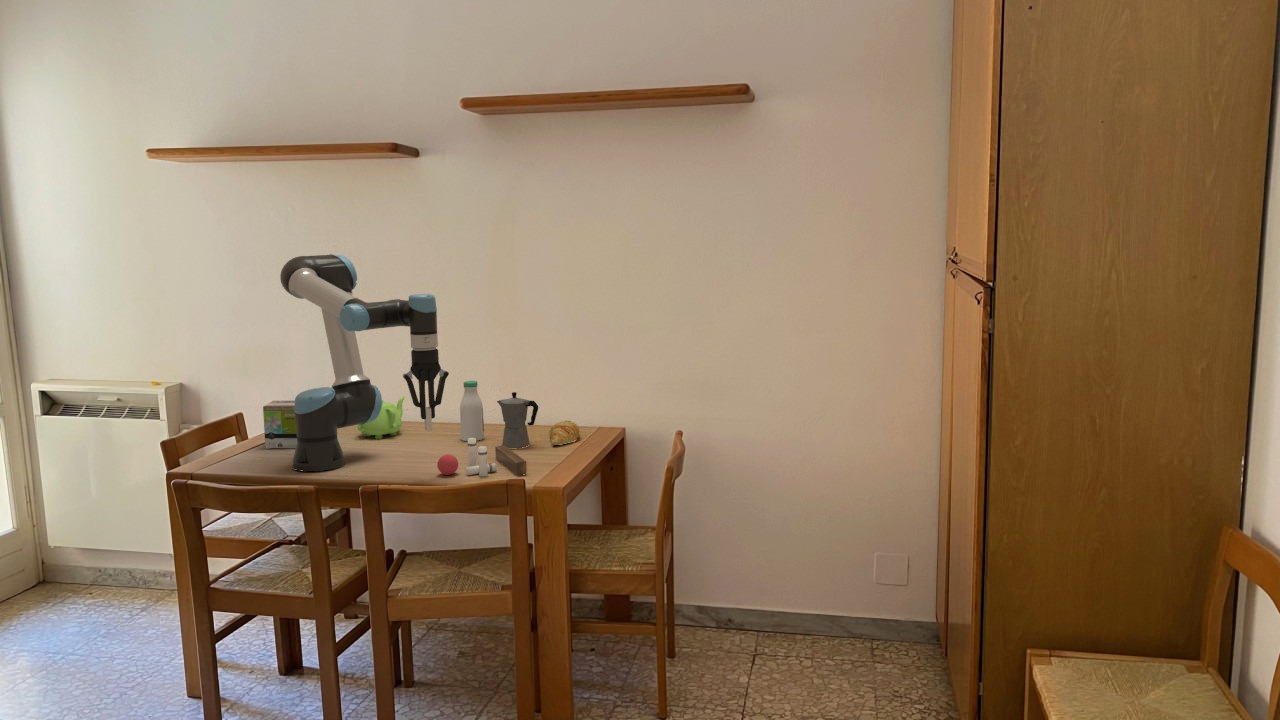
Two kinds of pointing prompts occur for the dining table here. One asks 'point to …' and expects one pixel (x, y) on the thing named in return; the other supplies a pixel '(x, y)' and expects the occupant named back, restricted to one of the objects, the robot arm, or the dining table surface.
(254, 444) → the dining table surface
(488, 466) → the front pin
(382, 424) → the green lumpy piece
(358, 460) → the dining table surface
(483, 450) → the pin
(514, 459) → the brown long rectangular bar
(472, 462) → the pin
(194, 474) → the dining table surface
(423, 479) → the dining table surface
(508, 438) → the coffeepot
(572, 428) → the croissant
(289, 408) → the tea box
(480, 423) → the milk bottle
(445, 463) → the ball
